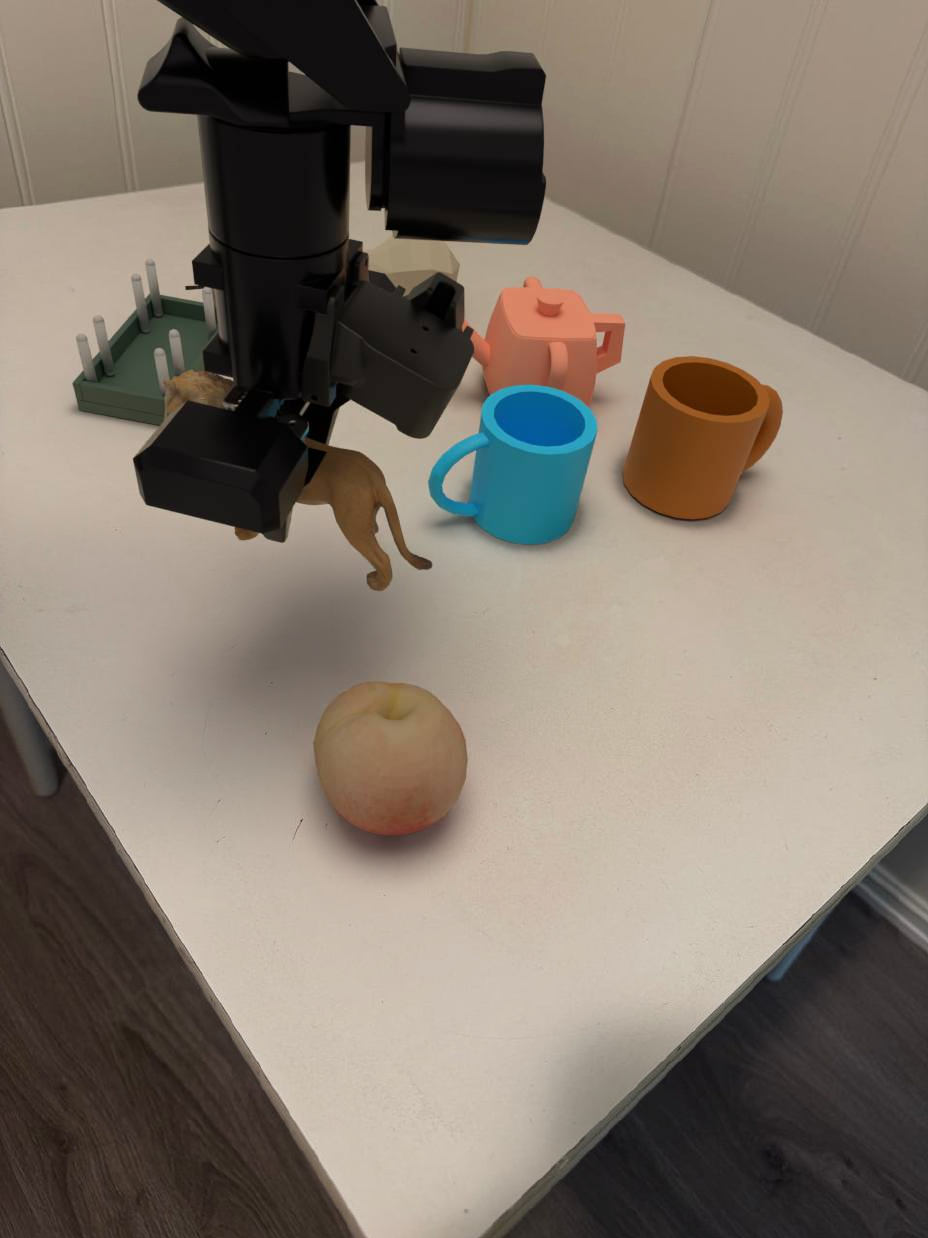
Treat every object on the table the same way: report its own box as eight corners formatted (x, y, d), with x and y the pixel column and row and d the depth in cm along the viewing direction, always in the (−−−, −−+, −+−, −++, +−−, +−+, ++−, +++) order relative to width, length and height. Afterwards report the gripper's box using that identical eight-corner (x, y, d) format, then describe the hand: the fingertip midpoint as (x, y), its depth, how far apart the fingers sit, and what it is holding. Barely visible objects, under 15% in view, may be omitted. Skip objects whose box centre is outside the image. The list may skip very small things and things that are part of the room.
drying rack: (78, 410, 69) (60, 339, 65) (154, 318, 79) (143, 251, 75) (177, 428, 69) (166, 358, 64) (240, 334, 79) (234, 267, 74)
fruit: (451, 734, 52) (466, 648, 46) (464, 859, 47) (482, 779, 41) (315, 737, 51) (312, 648, 45) (313, 865, 46) (309, 783, 40)
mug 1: (545, 466, 71) (564, 377, 65) (593, 532, 66) (619, 443, 60) (405, 492, 67) (411, 400, 61) (445, 564, 62) (457, 473, 56)
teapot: (434, 397, 76) (443, 291, 68) (519, 349, 82) (536, 247, 75) (540, 460, 71) (562, 353, 64) (621, 403, 78) (649, 301, 71)
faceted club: (469, 332, 81) (191, 348, 77) (451, 309, 88) (194, 323, 84) (470, 229, 77) (173, 239, 72) (450, 214, 84) (178, 223, 79)
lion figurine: (157, 536, 48) (131, 396, 41) (200, 476, 51) (182, 338, 44) (418, 606, 47) (436, 474, 40) (443, 540, 50) (463, 409, 43)
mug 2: (783, 520, 69) (830, 425, 63) (637, 521, 67) (670, 423, 61) (745, 450, 75) (784, 356, 68) (610, 449, 73) (637, 352, 67)
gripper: (406, 390, 29) (384, 679, 41) (512, 183, 42) (472, 449, 53) (94, 317, 30) (158, 620, 42) (289, 136, 43) (298, 407, 54)
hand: (291, 513), depth 48 cm, fingers closed on lion figurine, 4 cm apart
